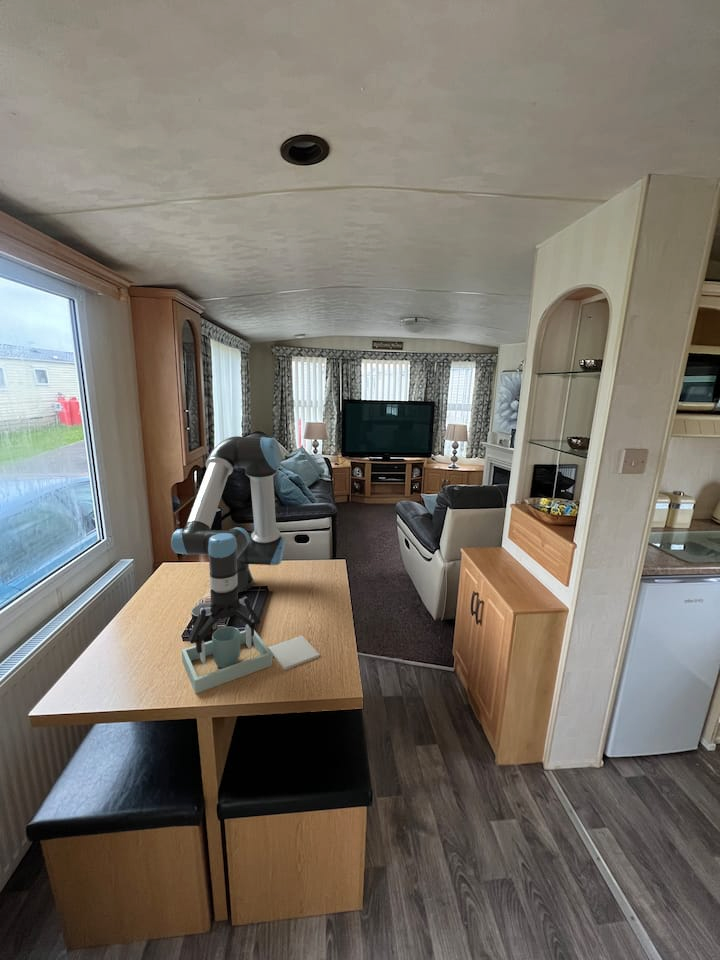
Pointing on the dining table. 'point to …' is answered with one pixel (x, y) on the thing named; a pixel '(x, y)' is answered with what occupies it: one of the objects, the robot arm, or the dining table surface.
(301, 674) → the dining table surface
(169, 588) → the dining table surface
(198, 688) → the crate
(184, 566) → the dining table surface
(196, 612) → the coffee mug
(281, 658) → the plate
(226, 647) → the cup
